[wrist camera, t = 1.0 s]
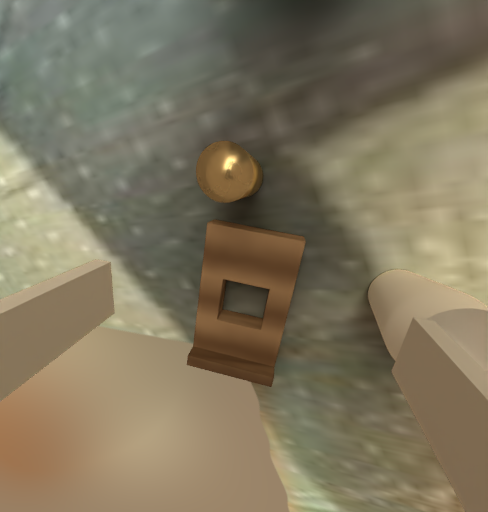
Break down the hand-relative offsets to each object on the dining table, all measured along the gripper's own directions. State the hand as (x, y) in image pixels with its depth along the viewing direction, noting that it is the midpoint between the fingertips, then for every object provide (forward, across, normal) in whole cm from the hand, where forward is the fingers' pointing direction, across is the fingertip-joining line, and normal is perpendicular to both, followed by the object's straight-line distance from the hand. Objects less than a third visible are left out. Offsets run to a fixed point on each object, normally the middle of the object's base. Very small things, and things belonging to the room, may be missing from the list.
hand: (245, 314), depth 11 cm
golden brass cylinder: (+22, -5, +5) cm, 23 cm away
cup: (+22, +17, -7) cm, 29 cm away
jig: (+22, -2, -11) cm, 24 cm away
